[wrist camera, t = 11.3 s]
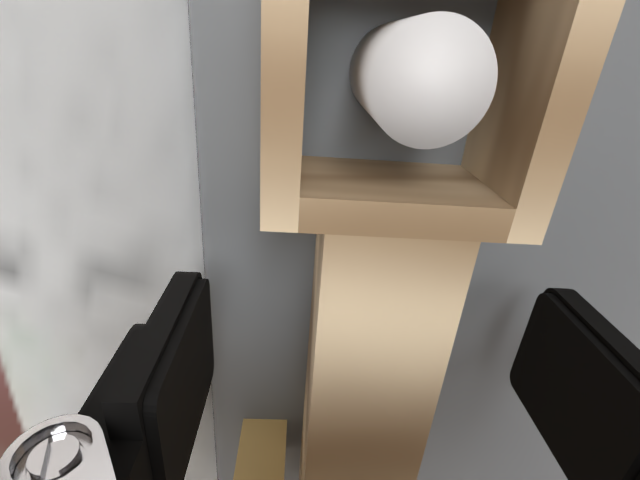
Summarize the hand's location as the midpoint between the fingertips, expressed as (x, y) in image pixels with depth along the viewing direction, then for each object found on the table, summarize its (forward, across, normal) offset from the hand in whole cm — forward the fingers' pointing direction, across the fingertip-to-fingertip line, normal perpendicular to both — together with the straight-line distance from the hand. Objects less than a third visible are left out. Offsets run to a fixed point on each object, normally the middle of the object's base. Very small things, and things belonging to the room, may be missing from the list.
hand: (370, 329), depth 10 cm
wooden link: (+2, 0, 0) cm, 2 cm away
